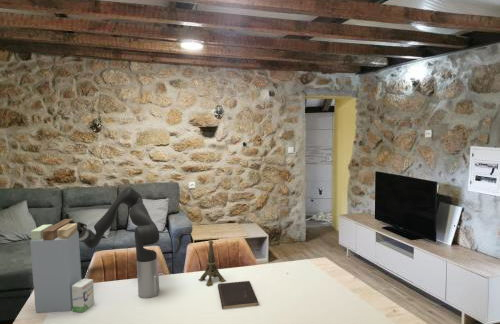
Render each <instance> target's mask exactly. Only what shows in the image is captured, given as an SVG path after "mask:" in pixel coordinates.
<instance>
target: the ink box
mask: <svg viewBox="0 0 500 324" xmlns="http://www.w3.org/2000/svg"><path fill="white" fill-rule="evenodd" d="M94 291H95V290H94V279H91V278H82V280H80V281H79V282H77V283H76V284H74V285H73V286H72V299H73V310H72V312H74V313H84V312H85V311H87V310H88V309H89V308H91V306H94V304H95V292H94Z"/></svg>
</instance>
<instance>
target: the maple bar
mask: <svg viewBox="0 0 500 324" xmlns="http://www.w3.org/2000/svg"><path fill="white" fill-rule="evenodd" d="M75 233H77V223H75V224H67V225H65V226H63V227H62V228H60V229H58V230H57V235H58V239H68V238H69V237H71V236H72V235H74V234H75Z"/></svg>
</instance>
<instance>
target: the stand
mask: <svg viewBox="0 0 500 324" xmlns="http://www.w3.org/2000/svg"><path fill="white" fill-rule="evenodd" d="M29 243H30V256H31V258H30V259H31V267H32V269H31V270H32V282H33V294H34V296H33V297H34V306H35V313H36V314H41V313H42V314H43V313H61V312H62V313H63V312H73V299H72V286H73V285H74V284H76V283H77V282H79V281H80V280H82V279H83V278H82V267H81V252H80V241H79V233H78V231H77V233H75V234H74V235H72V236H71V237H69V238H68V239H58V237H57V238H56V239H54V240H45V241H43V239H42V240H31V239H30V241H29Z"/></svg>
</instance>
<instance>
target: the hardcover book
mask: <svg viewBox="0 0 500 324" xmlns="http://www.w3.org/2000/svg"><path fill="white" fill-rule="evenodd" d="M217 289H218V295H219V300H220V304H221V305H220V306H221V309H222V310H226V309H236V308H245V307H253V306H255V307H256V306H258V303H259V300H258V297H257V295H256V293H255V291H254V288H253V286H252V284H251V281H250V280H243V281H234V282H233V281H232V282H220V283H218V284H217Z"/></svg>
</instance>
